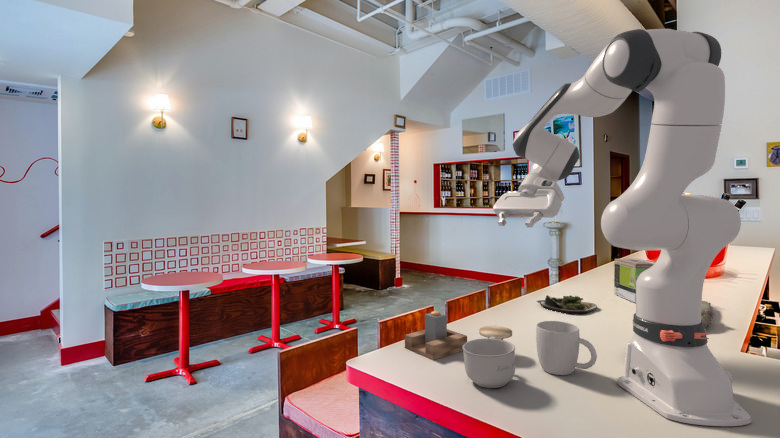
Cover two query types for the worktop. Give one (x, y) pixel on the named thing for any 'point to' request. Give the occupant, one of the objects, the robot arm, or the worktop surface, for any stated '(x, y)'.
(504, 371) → the teacup
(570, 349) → the mug
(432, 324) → the grey knobbed block
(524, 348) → the worktop surface
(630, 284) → the tea box
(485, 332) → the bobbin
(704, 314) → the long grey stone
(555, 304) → the salad plate
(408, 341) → the notch board
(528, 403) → the worktop surface
